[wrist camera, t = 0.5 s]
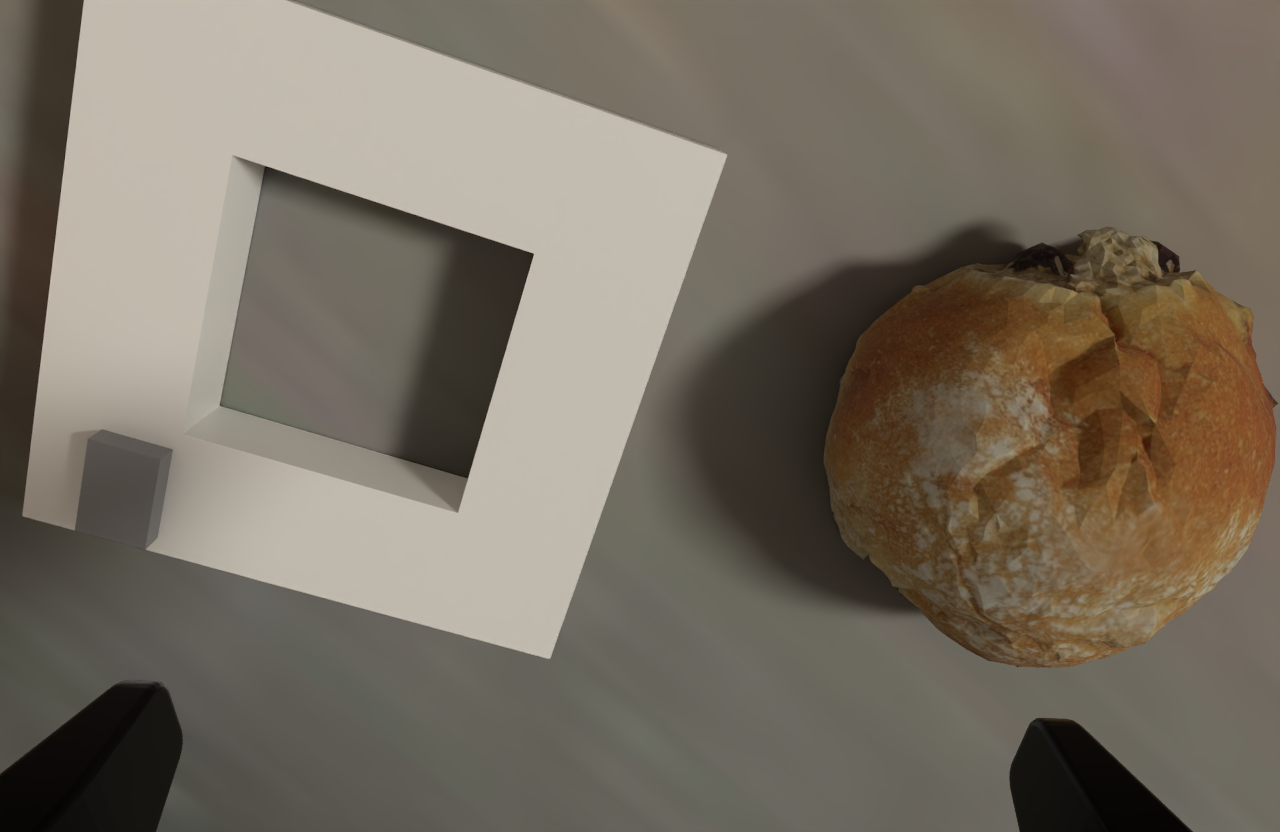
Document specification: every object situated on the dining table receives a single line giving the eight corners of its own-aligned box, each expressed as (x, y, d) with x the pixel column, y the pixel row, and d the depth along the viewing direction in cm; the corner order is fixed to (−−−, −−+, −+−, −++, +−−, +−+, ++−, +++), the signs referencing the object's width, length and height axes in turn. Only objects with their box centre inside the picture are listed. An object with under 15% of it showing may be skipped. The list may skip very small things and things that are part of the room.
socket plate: (555, 616, 25) (548, 673, 22) (70, 482, 23) (5, 527, 21) (717, 149, 21) (730, 156, 18) (143, -52, 19) (74, -74, 17)
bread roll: (762, 366, 26) (709, 571, 21) (1062, 103, 20) (1112, 292, 14) (999, 550, 29) (1014, 783, 23) (1340, 366, 22) (1487, 627, 16)
